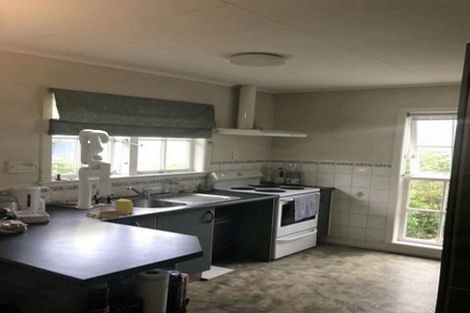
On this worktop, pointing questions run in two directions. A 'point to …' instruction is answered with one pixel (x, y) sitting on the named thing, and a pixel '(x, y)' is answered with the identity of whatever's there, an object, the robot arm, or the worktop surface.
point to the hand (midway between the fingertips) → (102, 203)
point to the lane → (104, 214)
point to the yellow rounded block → (124, 206)
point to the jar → (102, 208)
